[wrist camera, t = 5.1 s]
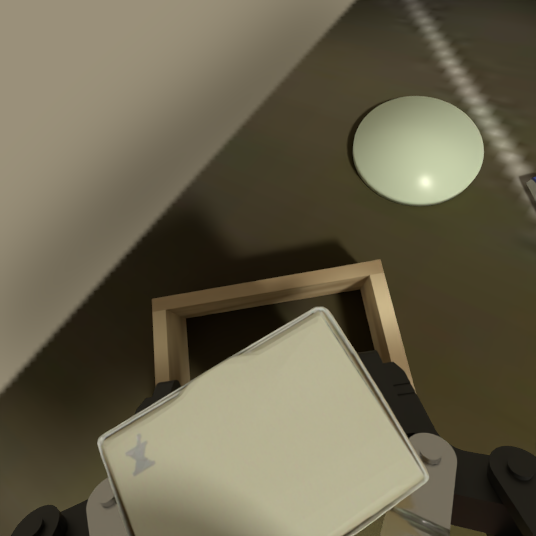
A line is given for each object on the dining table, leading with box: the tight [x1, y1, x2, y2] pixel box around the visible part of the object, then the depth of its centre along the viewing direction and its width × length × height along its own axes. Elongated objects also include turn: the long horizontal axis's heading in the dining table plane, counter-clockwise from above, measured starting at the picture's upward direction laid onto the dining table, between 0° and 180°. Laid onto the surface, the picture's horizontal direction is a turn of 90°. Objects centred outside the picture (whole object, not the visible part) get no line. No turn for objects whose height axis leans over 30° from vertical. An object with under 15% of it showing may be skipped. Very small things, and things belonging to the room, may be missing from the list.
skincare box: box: [97, 307, 429, 536], centre depth 13 cm, size 6×4×12 cm
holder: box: [152, 260, 416, 393], centre depth 20 cm, size 11×14×4 cm
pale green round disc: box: [352, 96, 484, 206], centre depth 25 cm, size 9×9×1 cm
